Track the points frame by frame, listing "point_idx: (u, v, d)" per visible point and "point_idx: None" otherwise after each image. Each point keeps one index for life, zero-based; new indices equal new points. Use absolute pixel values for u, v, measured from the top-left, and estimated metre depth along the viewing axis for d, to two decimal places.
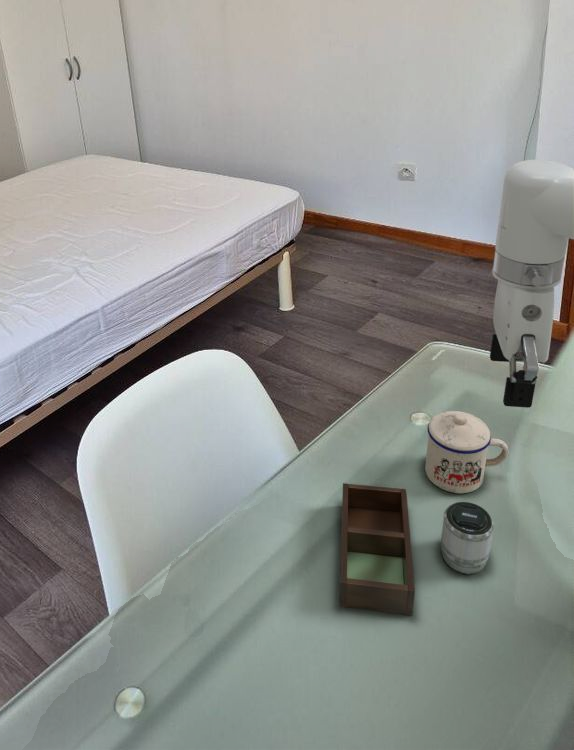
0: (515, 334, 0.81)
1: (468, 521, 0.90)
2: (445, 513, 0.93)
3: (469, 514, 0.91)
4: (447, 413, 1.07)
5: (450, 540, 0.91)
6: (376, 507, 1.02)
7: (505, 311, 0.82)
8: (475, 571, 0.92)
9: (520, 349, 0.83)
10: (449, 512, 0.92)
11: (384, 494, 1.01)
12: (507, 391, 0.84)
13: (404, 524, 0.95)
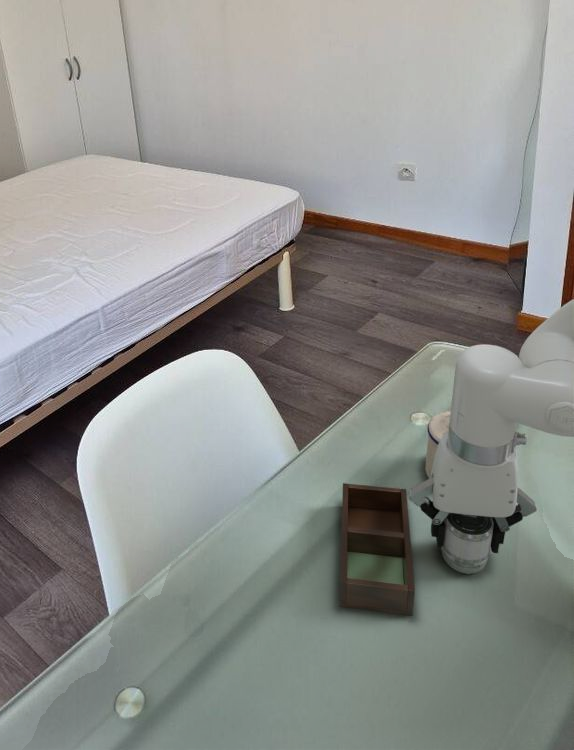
0: None
1: (467, 521, 0.90)
2: None
3: None
4: (447, 413, 1.07)
5: (450, 540, 0.91)
6: (376, 507, 1.02)
7: (501, 484, 0.85)
8: (475, 571, 0.92)
9: None
10: None
11: (384, 494, 1.01)
12: None
13: (404, 524, 0.95)
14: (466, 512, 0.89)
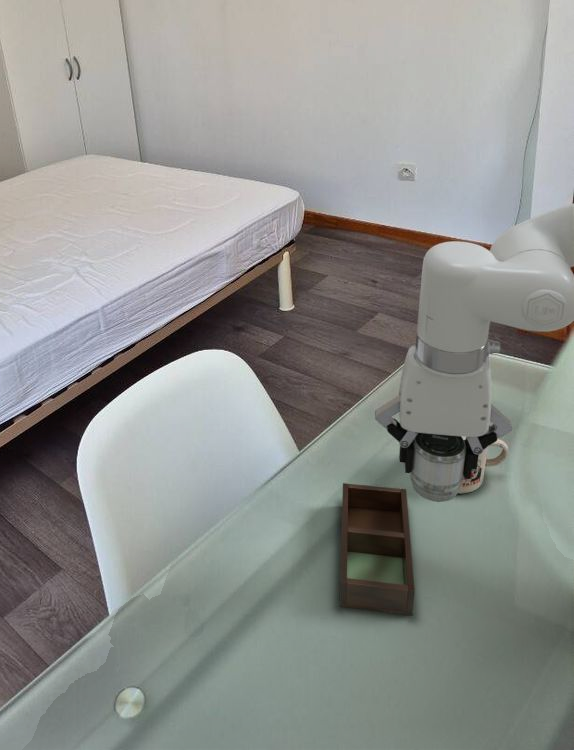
0: (490, 407, 0.79)
1: (438, 443, 0.83)
2: None
3: (439, 436, 0.84)
4: None
5: (419, 464, 0.84)
6: (376, 507, 1.02)
7: (473, 398, 0.78)
8: (446, 499, 0.85)
9: None
10: (418, 434, 0.85)
11: (384, 494, 1.01)
12: (471, 465, 0.83)
13: (404, 524, 0.95)
14: (435, 431, 0.81)
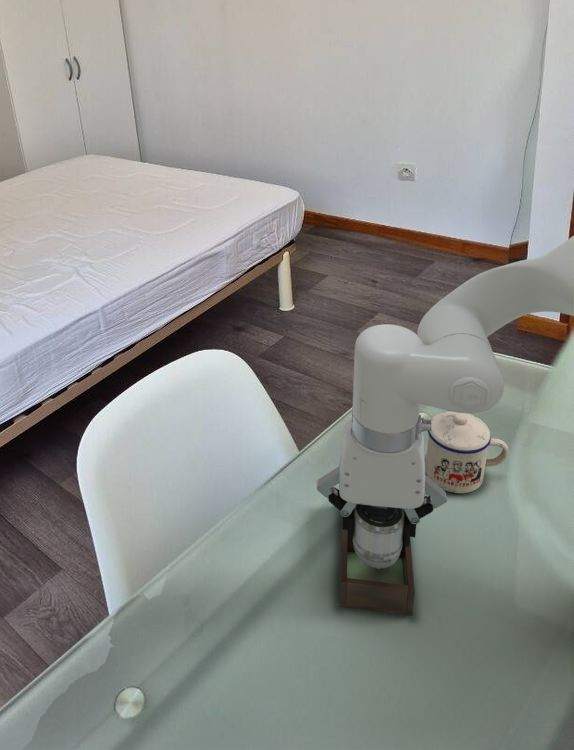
0: (424, 481, 0.81)
1: (376, 512, 0.86)
2: None
3: None
4: (447, 413, 1.07)
5: (359, 532, 0.86)
6: None
7: (406, 473, 0.80)
8: (386, 566, 0.87)
9: None
10: None
11: None
12: (409, 534, 0.86)
13: None
14: (373, 503, 0.84)
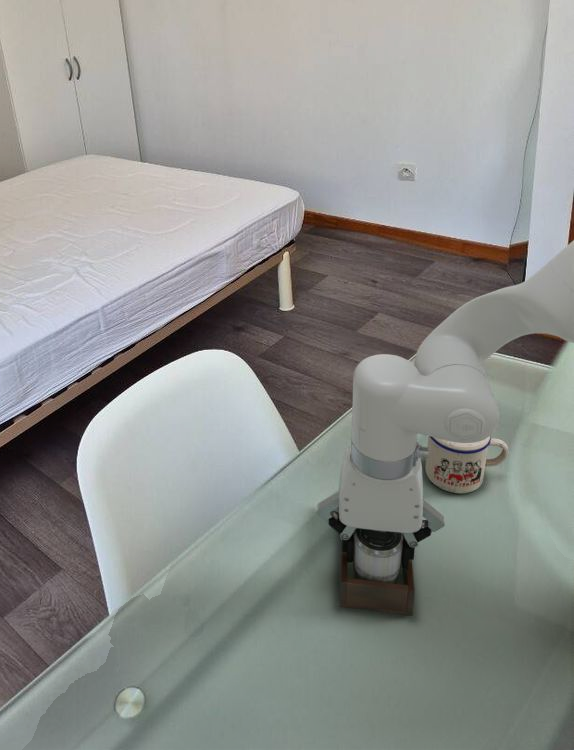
0: (422, 506, 0.83)
1: (376, 536, 0.87)
2: None
3: None
4: None
5: (358, 555, 0.88)
6: None
7: (404, 499, 0.82)
8: None
9: None
10: None
11: None
12: (408, 557, 0.87)
13: None
14: (372, 527, 0.85)
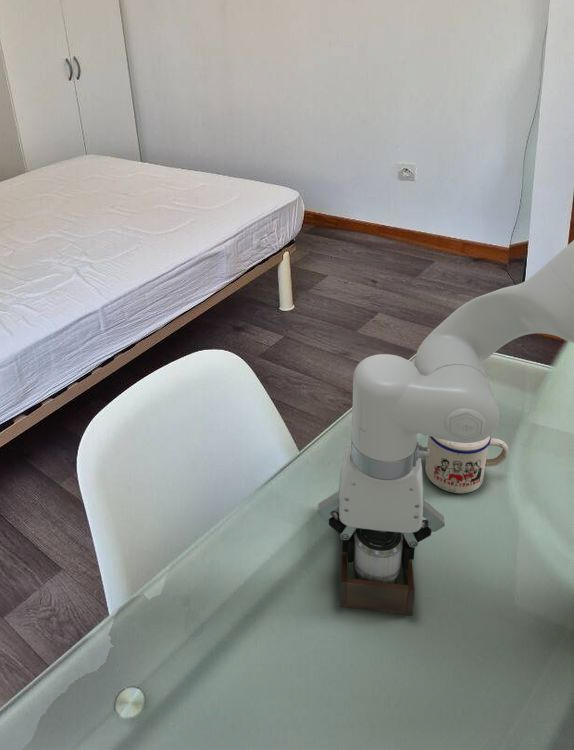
0: (422, 506, 0.83)
1: (376, 536, 0.87)
2: None
3: None
4: None
5: (358, 555, 0.88)
6: None
7: (405, 499, 0.82)
8: None
9: None
10: None
11: None
12: (408, 557, 0.87)
13: None
14: (372, 527, 0.85)
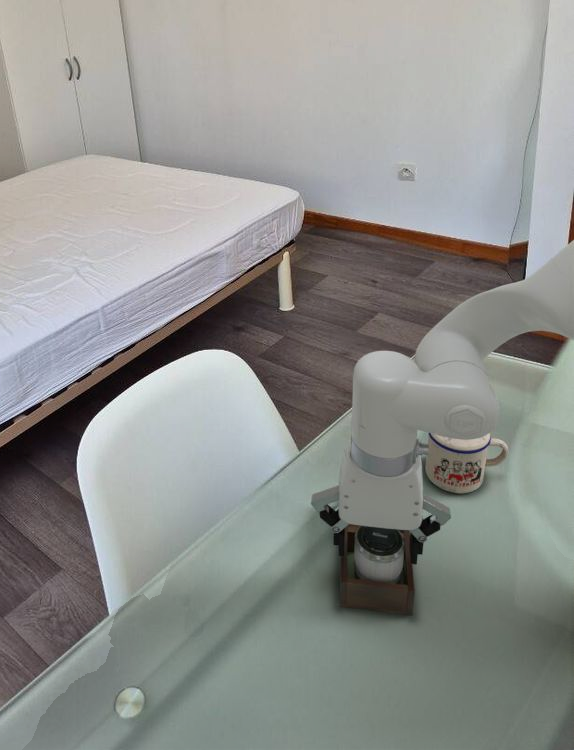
0: (422, 503, 0.83)
1: (377, 541, 0.88)
2: (356, 533, 0.90)
3: (379, 534, 0.89)
4: None
5: (360, 560, 0.89)
6: None
7: (404, 496, 0.82)
8: None
9: None
10: (360, 531, 0.90)
11: None
12: None
13: None
14: (372, 524, 0.85)
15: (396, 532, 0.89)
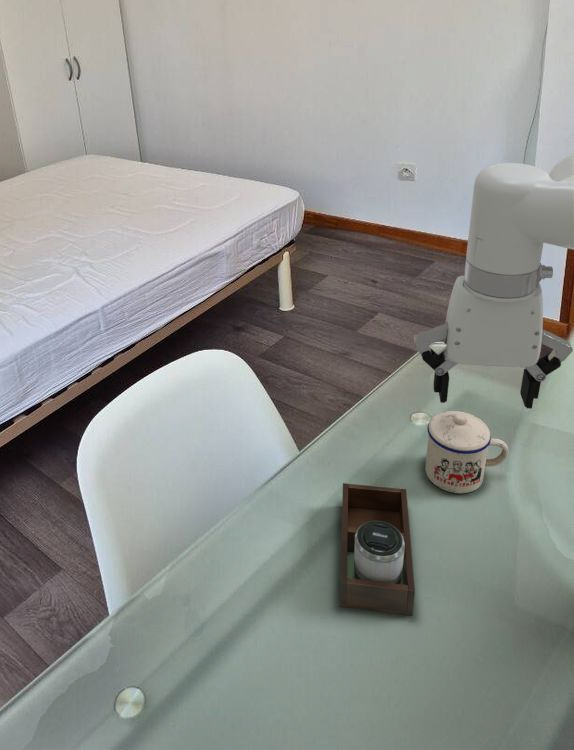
0: (541, 335, 0.77)
1: (377, 541, 0.88)
2: (356, 533, 0.90)
3: (379, 534, 0.89)
4: (447, 413, 1.07)
5: (360, 560, 0.89)
6: (376, 507, 1.02)
7: (524, 325, 0.76)
8: None
9: None
10: (360, 531, 0.90)
11: (384, 494, 1.01)
12: (533, 393, 0.81)
13: (404, 524, 0.95)
14: (484, 362, 0.80)
15: (396, 532, 0.89)
